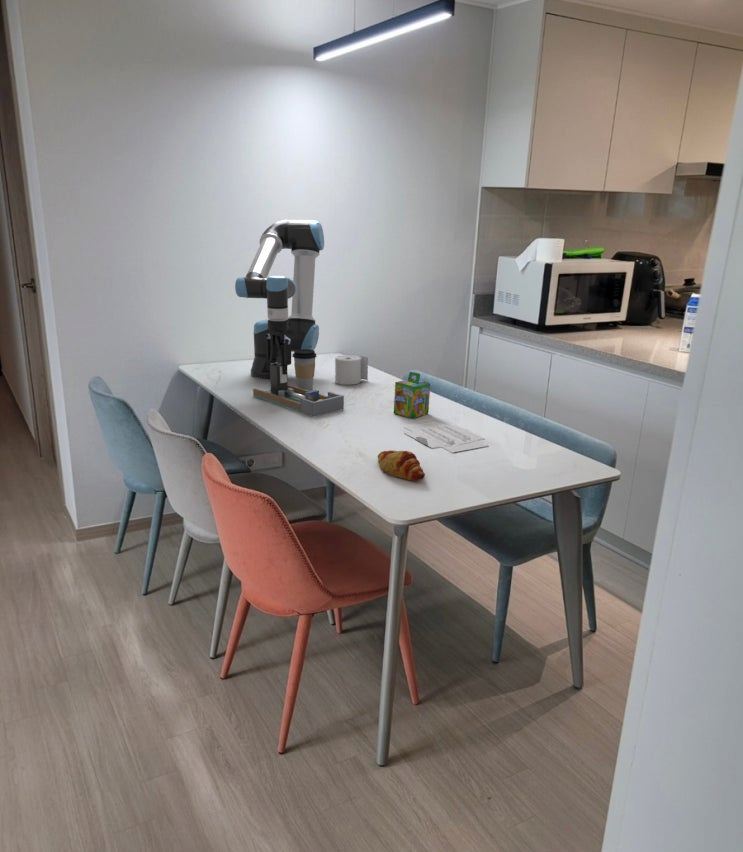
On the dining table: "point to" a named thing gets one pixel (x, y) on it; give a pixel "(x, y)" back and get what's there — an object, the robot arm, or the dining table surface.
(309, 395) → the striker rod
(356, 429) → the dining table surface
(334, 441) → the dining table surface
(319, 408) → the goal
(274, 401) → the lane
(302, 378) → the coffee cup
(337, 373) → the toilet tissue
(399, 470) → the croissant
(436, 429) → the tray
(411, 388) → the chalk box
